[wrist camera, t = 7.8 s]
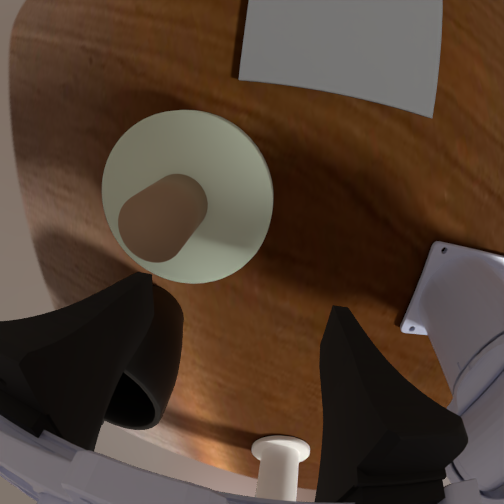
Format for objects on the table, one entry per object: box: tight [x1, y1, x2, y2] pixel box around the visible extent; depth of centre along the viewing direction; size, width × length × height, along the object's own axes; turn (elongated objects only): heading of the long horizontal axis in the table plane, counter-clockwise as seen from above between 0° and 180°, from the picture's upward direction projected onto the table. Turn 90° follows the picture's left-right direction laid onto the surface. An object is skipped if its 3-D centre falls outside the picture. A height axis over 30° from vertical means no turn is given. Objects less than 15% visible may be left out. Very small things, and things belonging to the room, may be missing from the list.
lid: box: [102, 110, 274, 283], centre depth 14 cm, size 9×9×5 cm
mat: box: [238, 0, 442, 118], centre depth 14 cm, size 12×10×1 cm
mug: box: [102, 285, 184, 430], centre depth 22 cm, size 8×12×10 cm
